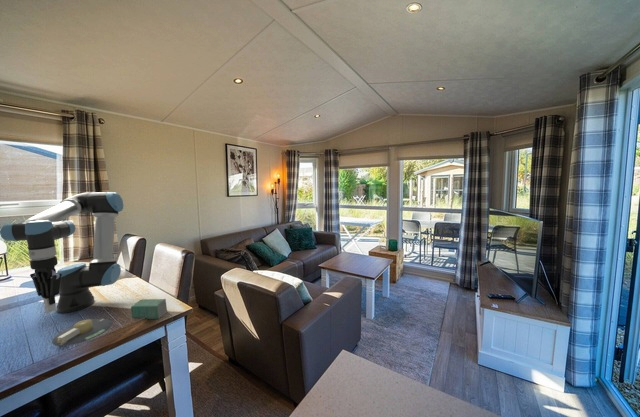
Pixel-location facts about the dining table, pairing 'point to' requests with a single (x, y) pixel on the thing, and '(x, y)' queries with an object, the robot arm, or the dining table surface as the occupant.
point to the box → (149, 308)
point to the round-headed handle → (76, 330)
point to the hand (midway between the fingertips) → (50, 311)
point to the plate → (98, 329)
